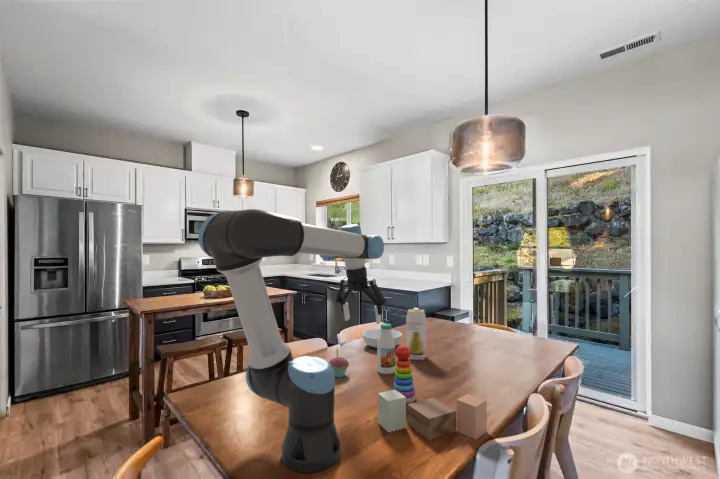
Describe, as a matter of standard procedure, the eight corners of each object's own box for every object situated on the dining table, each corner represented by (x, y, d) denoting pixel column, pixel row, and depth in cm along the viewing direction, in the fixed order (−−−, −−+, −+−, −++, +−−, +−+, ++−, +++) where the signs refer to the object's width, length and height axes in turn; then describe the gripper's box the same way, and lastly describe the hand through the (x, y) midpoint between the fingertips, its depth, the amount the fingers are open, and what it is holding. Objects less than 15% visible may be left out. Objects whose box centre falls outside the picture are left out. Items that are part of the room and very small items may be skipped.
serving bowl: (357, 342, 191) (357, 330, 191) (392, 339, 197) (392, 327, 197) (370, 354, 171) (370, 340, 171) (408, 350, 177) (408, 336, 177)
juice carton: (406, 360, 162) (405, 308, 162) (406, 354, 169) (406, 305, 170) (426, 361, 160) (426, 309, 160) (426, 355, 168) (425, 306, 168)
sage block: (388, 432, 99) (388, 401, 99) (378, 423, 104) (378, 393, 104) (405, 427, 101) (405, 397, 101) (395, 418, 107) (395, 389, 107)
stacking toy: (400, 392, 126) (400, 341, 126) (420, 398, 121) (419, 345, 121) (388, 400, 120) (388, 345, 120) (408, 406, 114) (408, 350, 115)
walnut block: (428, 440, 95) (428, 418, 95) (407, 424, 104) (407, 404, 104) (456, 431, 100) (456, 410, 100) (433, 416, 108) (433, 397, 109)
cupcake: (345, 380, 138) (345, 349, 138) (325, 378, 139) (325, 348, 140) (350, 372, 146) (350, 343, 146) (331, 370, 148) (331, 342, 148)
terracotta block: (475, 439, 95) (475, 406, 95) (456, 430, 100) (456, 399, 100) (486, 431, 99) (486, 400, 99) (468, 423, 104) (467, 393, 104)
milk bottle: (374, 372, 145) (374, 325, 146) (381, 367, 152) (381, 321, 153) (391, 376, 142) (391, 327, 142) (398, 370, 149) (397, 323, 149)
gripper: (390, 264, 124) (397, 319, 127) (332, 264, 136) (340, 314, 139) (382, 269, 117) (389, 328, 121) (322, 269, 130) (330, 322, 133)
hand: (362, 321), depth 130 cm, fingers open, 13 cm apart
